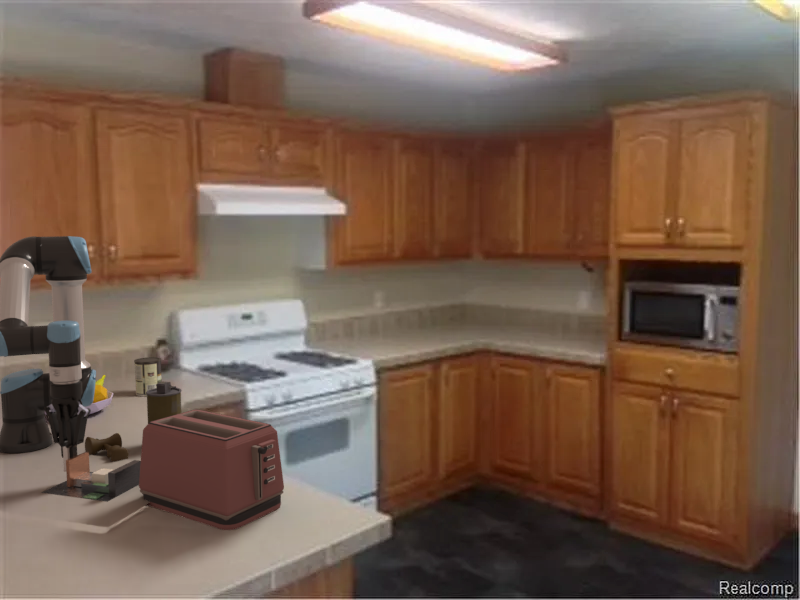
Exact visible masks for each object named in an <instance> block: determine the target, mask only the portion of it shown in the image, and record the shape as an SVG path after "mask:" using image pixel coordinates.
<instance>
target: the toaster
mask: <svg viewBox="0 0 800 600" xmlns="http://www.w3.org/2000/svg"><path fill="white" fill-rule="evenodd" d="M278 435H279V434H278V431H277V430H276V428H275V427H274V426H272V424H270V423H265V422H261V421H255V420H251V419H247V418H242V417H241V418H240V417H237V416H232V415H228V414H227V415H226V414H221V413H216V412H212V411H207V410H202V409H198V408H195V409H190V410H188V411H185V412H181V413H180V414H177V415H173V416H169V417H166V418H162V419H159V420H155V421H151V422H149V424H148V423H147V424H146V425H145V427H144V428H143V430H142V437H141V438H142V441H141V452H140V453H141V454H140V461H141V464H140V478H139V485H138V487H139V488H138V489H139V492H140V493H141V494H142V495H143V497H142V498H143V500H145V501H146V502H147V503H146V504H145V505H146V506H148V507H152V508H154V509H157V510H161V511H163V512H166V513H170V514H172V513H173V515H175V514H176V516H178V515H179V517H181V516H183V517H182V518H184V517H185V519H188V520H191V521H194V522H197V523H199V524H202V525H206V526H209V527H213V528H215V529H217V530H223V531H233V530H236V529H239V528H242V527H245V526H246V525H248V524H250V523H252V522H254V521H257V520H258V519H260V518H262V517H264V516H266V515H268V514H270V513H272V512H275V511H276V510H279V509H280V508H281V505H282V495H283V494H284V488H285V485H284V484H285V483H284V475H283V469H282V460H281V453H280V445H279V444H280V443H279V438H278Z"/></svg>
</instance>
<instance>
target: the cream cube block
mask: <svg viewBox="0 0 800 600" xmlns="http://www.w3.org/2000/svg"><path fill="white" fill-rule="evenodd" d="M113 470H114V469H112V468H104V467H101V468H100V469H98V470H95V471H92V472H93V473H92V483H96V482H97V483H105V484H108V473H109V472H111V471H113Z"/></svg>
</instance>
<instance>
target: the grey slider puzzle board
mask: <svg viewBox="0 0 800 600" xmlns="http://www.w3.org/2000/svg"><path fill="white" fill-rule="evenodd" d="M140 464H141V460H137V459H134V460H131V461H129V462H128V463H125V464H124V465H121V466H119V467H116V468H115V469H113V471H111V472H109V473H108V484H105V483H97V482H96V483H91V482H83V483H81V487H78V486H72V487H67V480H65V481H62V482H61V483H59V484H56V485H54V486H52V487H50V488H47V489H46V490H43V491H41V493H42V494H49V495H57V496H64V497H71V498H78V499H85V500H93V501H97V502H98V501H99V502H100V501H101V502H106V503H108V502H109V501H112V500H113V499H115V498H117V497H118V496H121V495H123V494H124V493H127V492H128V491H130V490H131V489H134V488H135V487H139V478H140ZM93 472H94V471H90V473H93Z"/></svg>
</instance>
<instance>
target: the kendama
mask: <svg viewBox="0 0 800 600" xmlns="http://www.w3.org/2000/svg"><path fill="white" fill-rule="evenodd" d="M101 451H106V457H107V458H108V459H110V462H112V463H114V462H119V461H125V460H129V456H130V454H129V450H128V449H127V448H126V447H123V439H122V436H121V434H119V432H118V433H117V432H116V433H113V434H111V435H110V436H109V437H106V438H102V439H99V438H94V437H91V436H87V437H86V438H85V439H84V452H89V456H95V455H96V454H98V453H99V452H101Z"/></svg>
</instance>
